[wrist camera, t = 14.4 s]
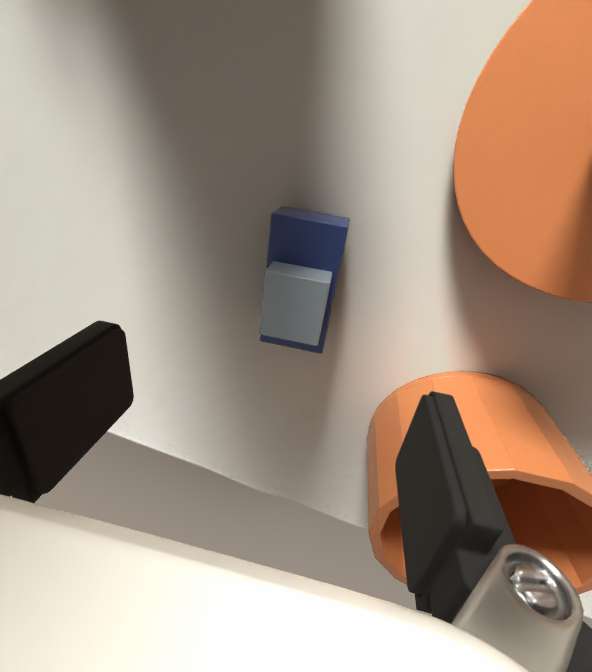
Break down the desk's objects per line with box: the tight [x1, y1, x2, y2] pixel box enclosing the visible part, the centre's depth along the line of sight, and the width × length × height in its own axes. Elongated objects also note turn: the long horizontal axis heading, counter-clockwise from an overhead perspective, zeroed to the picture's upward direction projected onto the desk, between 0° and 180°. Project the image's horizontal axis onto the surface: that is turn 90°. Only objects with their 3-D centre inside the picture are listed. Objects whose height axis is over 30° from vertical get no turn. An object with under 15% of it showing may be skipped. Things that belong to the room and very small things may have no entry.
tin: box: [367, 371, 592, 594], centre depth 20 cm, size 12×12×8 cm
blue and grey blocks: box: [260, 207, 350, 353], centre depth 17 cm, size 7×4×4 cm, turn 172°
